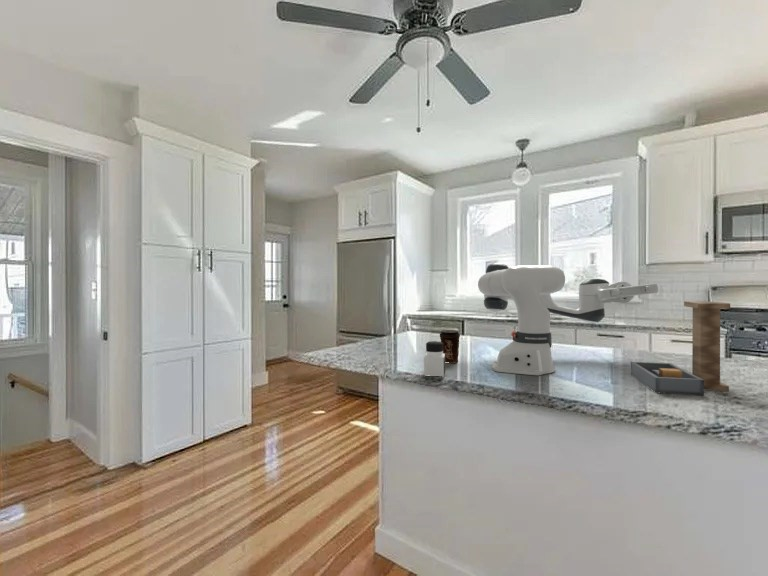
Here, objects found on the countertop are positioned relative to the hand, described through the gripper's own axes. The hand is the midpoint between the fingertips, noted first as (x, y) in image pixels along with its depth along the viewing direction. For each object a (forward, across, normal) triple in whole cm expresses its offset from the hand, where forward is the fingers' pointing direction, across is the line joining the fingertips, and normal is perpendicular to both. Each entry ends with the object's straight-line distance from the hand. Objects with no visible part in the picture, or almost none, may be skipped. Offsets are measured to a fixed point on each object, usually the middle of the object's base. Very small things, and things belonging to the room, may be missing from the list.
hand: (634, 290), depth 145 cm
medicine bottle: (+19, +75, -22) cm, 81 cm away
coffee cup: (-3, +71, -21) cm, 74 cm away
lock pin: (+19, +3, -30) cm, 35 cm away
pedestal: (+20, -8, -32) cm, 39 cm away
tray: (+19, +3, -31) cm, 37 cm away
